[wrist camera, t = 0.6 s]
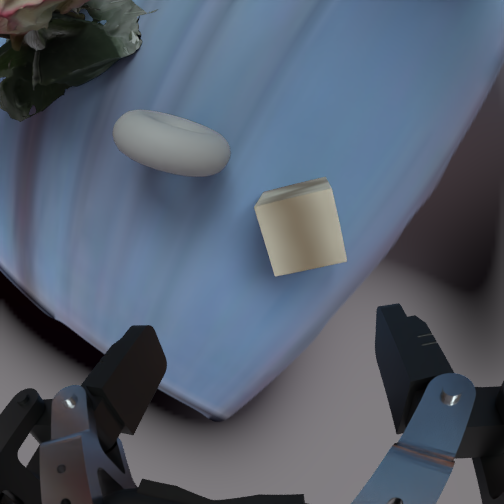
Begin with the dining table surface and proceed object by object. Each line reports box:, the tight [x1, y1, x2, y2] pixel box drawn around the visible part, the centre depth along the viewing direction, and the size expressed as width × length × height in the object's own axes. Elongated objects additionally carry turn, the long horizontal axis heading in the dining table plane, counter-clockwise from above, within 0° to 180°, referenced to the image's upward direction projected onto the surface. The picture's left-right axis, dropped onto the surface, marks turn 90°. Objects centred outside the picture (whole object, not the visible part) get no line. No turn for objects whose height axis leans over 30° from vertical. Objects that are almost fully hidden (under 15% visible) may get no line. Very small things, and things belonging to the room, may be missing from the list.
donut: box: [113, 110, 231, 177], centre depth 22 cm, size 10×4×10 cm, turn 67°
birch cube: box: [254, 177, 347, 277], centre depth 26 cm, size 6×6×6 cm
